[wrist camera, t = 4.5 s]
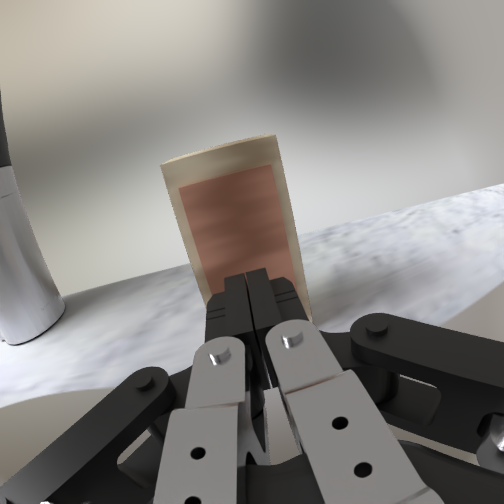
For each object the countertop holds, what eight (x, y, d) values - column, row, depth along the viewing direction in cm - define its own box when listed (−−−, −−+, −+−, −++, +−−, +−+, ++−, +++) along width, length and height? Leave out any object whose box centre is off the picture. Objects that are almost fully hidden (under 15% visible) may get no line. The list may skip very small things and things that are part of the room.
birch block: (222, 353, 19) (159, 165, 15) (221, 318, 23) (172, 158, 19) (314, 330, 19) (276, 134, 15) (299, 298, 23) (265, 134, 19)
